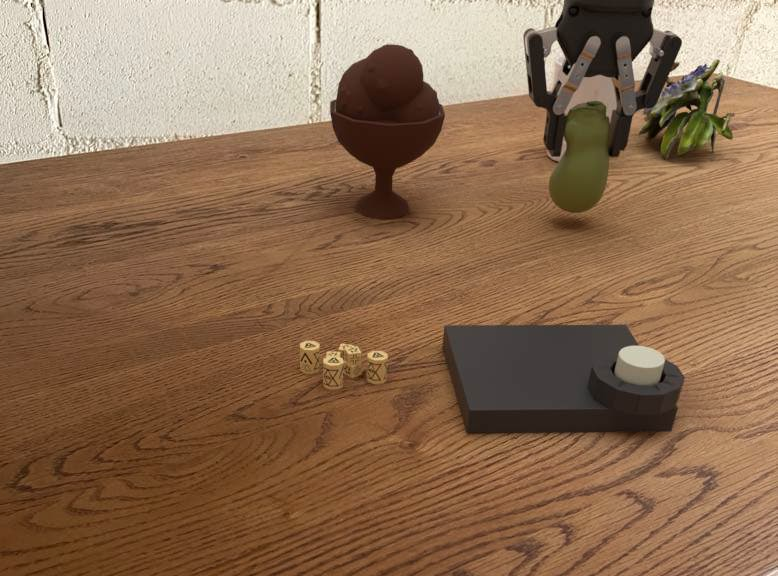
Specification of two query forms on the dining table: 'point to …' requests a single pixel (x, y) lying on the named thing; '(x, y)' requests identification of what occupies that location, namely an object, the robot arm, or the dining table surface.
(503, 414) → the scale
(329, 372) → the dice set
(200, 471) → the dining table surface
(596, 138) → the pear
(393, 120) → the ice cream bowl
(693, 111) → the passion flower
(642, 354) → the button
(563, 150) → the white cup
